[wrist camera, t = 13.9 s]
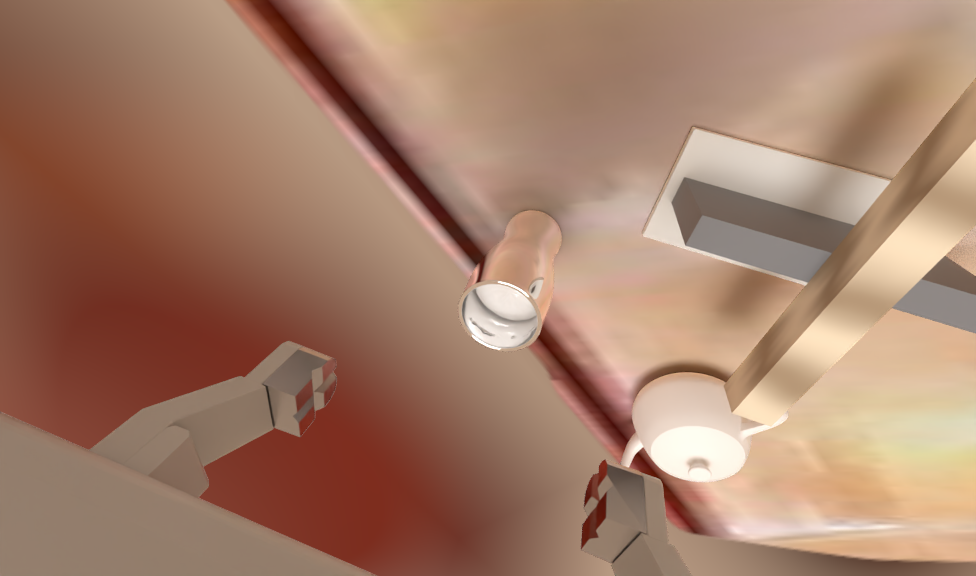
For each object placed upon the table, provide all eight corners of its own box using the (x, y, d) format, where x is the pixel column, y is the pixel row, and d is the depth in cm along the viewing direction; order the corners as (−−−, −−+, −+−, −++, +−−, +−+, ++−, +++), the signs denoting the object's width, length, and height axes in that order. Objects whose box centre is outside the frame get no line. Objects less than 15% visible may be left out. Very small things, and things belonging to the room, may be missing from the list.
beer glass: (541, 192, 39) (507, 261, 27) (579, 247, 41) (563, 335, 29) (488, 227, 43) (437, 302, 31) (525, 276, 45) (491, 365, 33)
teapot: (640, 454, 55) (644, 528, 47) (583, 397, 52) (576, 465, 44) (799, 405, 44) (840, 490, 36) (737, 330, 41) (767, 403, 33)
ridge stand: (692, 126, 33) (716, 155, 25) (978, 203, 30) (1110, 263, 22) (642, 231, 39) (648, 283, 30) (879, 303, 36) (955, 381, 28)
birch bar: (982, 69, 20) (1034, 73, 17) (1049, 85, 19) (1111, 91, 17) (723, 385, 33) (731, 413, 31) (759, 398, 33) (771, 426, 31)
